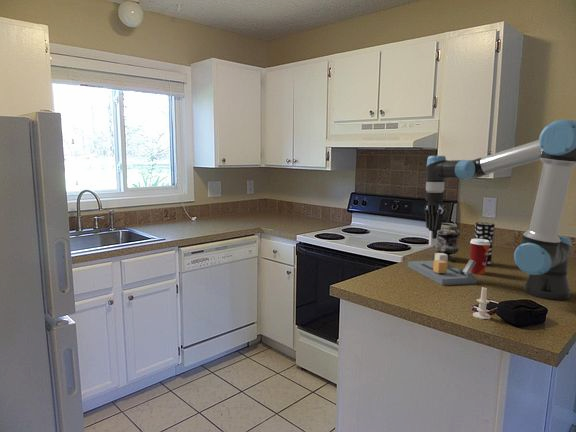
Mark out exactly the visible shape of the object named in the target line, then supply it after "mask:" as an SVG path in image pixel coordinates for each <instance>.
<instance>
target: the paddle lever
mask: <svg viewBox="0 0 576 432" xmlns="http://www.w3.org/2000/svg"><path fill="white" fill-rule="evenodd" d="M475 264H476V262H475V261H473V260H471V259H470V258H469V260H468V262H467V263H466V265H465V267H464V268H463V269H464V270H463V272H462V274H464V275H466V272H471V270H472V269H473V267H474V265H475Z"/></svg>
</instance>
